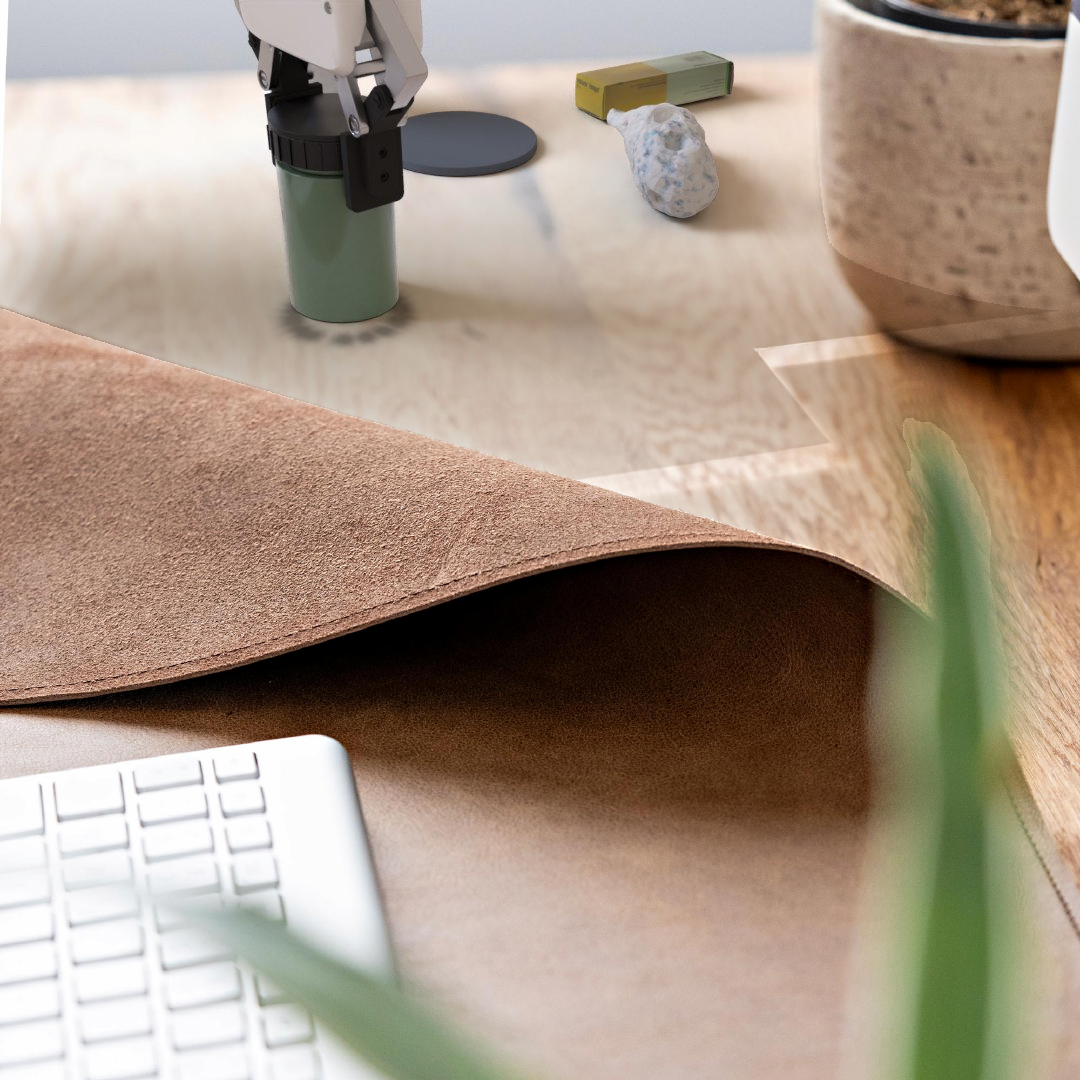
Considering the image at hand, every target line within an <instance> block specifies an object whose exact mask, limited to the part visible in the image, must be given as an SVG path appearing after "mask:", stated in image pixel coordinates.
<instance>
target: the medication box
mask: <svg viewBox="0 0 1080 1080" xmlns="http://www.w3.org/2000/svg"><path fill="white" fill-rule="evenodd" d="M734 63H735V62H733V61H731V60H729V59H727V58H724V57H722V56H720V55H716V54H714V53H711V52H708V51H706V50H697V51H692V52H687V53H681V54H674V55H670V56H664V57H660V58H659V57H658V58H654V59H648V60H642V61H637V62H631V63H626V64H620V65H614V66H610V67H605V68H598V69H593V70H588V71H583V72H577V73H576V75H575V86H574V103H575V107H576V108H578V109H579V110H581V111H583V112H584V113H587V114H588V115H590V116H592V117H595V118H597V119H599V120H602V121H607V115H608V113H609V111H610V110H611V109H612V108H614V109H616V110H620V111H624V112H628V111H630V110H633V109H637V108H639V107H642V106H646V105H658V104H661V103H669V104H671V105H674V106H679V105H683V104H688V103H693V102H698V101H703V100H707V99H712V98H717V97H722V96H727V95H728V96H731V95H732V91H733V87H734V82H735V81H734V80H735V65H734Z"/></svg>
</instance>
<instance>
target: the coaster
mask: <svg viewBox="0 0 1080 1080" xmlns="http://www.w3.org/2000/svg"><path fill="white" fill-rule="evenodd" d="M401 142H402V160H403V169H405V170H409V171H412V172H416V173H420V174H426V175H427V174H428V175H433V176H443V177H445V176H446V177H447V176H448V177H468V176H469V177H470V176H481V175H490V174H493V173H494V174H495V173H499V172H503V171H507V170H509V169H513V168H515V167H518V166H520V165H522V164H524V163H526V162H528V161H529V160H530V159H532V157H533V156H534V155H535V154H536V152H537V149H538V148H537V147H538V136H537V134H536V132H535V131H534V130H533V129H532V128H531V127H530V126H529V125H527V124H525V123H524V122H521V121H520V120H517V119H514V118H512V117H509V116H505V115H501V114H496V113H492V112H484V111H474V110H446V111H445V110H444V111H432V112H426V113H421V114H416V115H413V116H409V117H408V116H407V122H406V124H405V125H403V126H401Z"/></svg>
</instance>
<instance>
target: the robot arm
mask: <svg viewBox="0 0 1080 1080" xmlns="http://www.w3.org/2000/svg"><path fill="white" fill-rule="evenodd" d="M233 1H234V6H235V9H236V11H237V12H238V14H239V16H240V19H241V21H242V23H243V25H244V27H245V29H246V31H247V33H248V34H247V35H248V36H247V38H248V40H247V42H248V45H249V47H250V48H251V50H252V51H253V53H254V56H255V57H256V60H257V71H256V76H257V81H258V84H259V86H260V88H261V90H262V91H263V92H264V91H270V90H271V93H266V94H264V93H263V97H264V96H265V98H264V105H265V104H266V107H265V112H266V113H265V114H266V115H267V114H268V112H269V111H270V109H271V108H273V107H274V106H275V105H277V104H279V103H281V102H283V101H286V100H289V99H292V98H296V97H301V96H306V95H312V94H323V86H322V84H321V83H319V82H314V83H309V81H312V80H313V78H314V74H315V67H316V66H317V67H319V68H321V69H323V70H326V71H328V72H330V73H332V75H333V78H334V81H335V85H336V88H337V92H338V95H339V99H340V102H341V105H342V109H343V112H344V116H345V119H346V123H347V126H348V129H349V131H346V132H343V133H340V139H341V151H342V163H343V175H344V187H345V198H346V206H347V208H348V209H350V210H351V211H353V212H355V213H360V212H363V211H366V210H370V209H373V208H376V207H380V206H383V205H386V204H390V203H393V202H400V201H402V199H403V197H404V195H405V181H404V180H405V179H404V168H403V160H402V142H401V126H403V125H405V124H406V122H407V118H408V111H409V110H410V109H411V107H412V106H413V104H414V102H415V96H416V95H417V94H418V92H419V91H420V89H421V88H422V86H423V85H424V84H425V82H426V81H427V79H428V77H429V68H428V65H427V62H426V61H425V58H424V57H423V54H422V51H423V46H424V32H423V31H424V30H423V13H422V11H423V10H422V0H233ZM364 50H369V52H370V57H371V60H367V61H362V62H358V61H357V60H356V61H355V52H356V53H357V52H360V51H364ZM370 76H373V77H374V81H375V84H376V85H375V86H374V87H372V88H371V90H370V92H369V94H368V95H366V96H367V98H366V99H365V101H364V103H363V100H362V97H361V95H362V93H361V90H360V87H359V82H358V83H357V79H362V78H366V77H370ZM270 153H271V152H270ZM275 159H276V158H274V156H272V153H271V163H272V165H273V166H274V167H275V168H276V160H275Z"/></svg>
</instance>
